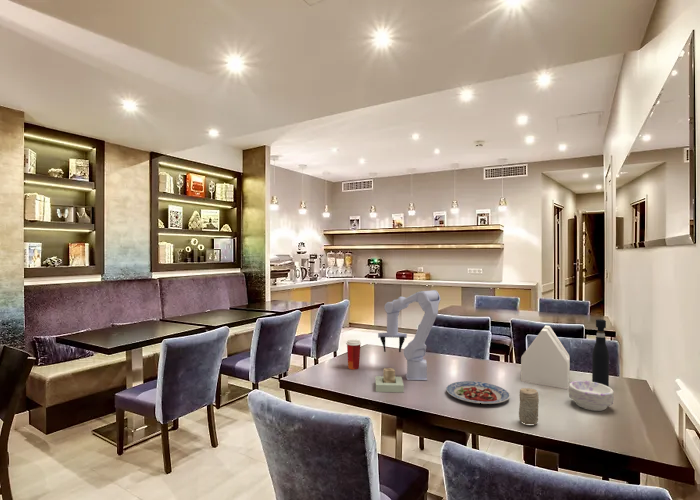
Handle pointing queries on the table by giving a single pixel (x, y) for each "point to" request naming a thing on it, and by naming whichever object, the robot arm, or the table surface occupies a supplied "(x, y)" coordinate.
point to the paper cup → (353, 354)
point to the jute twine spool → (528, 406)
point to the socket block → (389, 385)
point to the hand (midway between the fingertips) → (392, 351)
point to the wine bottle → (600, 356)
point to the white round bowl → (591, 395)
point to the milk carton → (546, 361)
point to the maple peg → (388, 375)
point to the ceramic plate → (478, 392)
